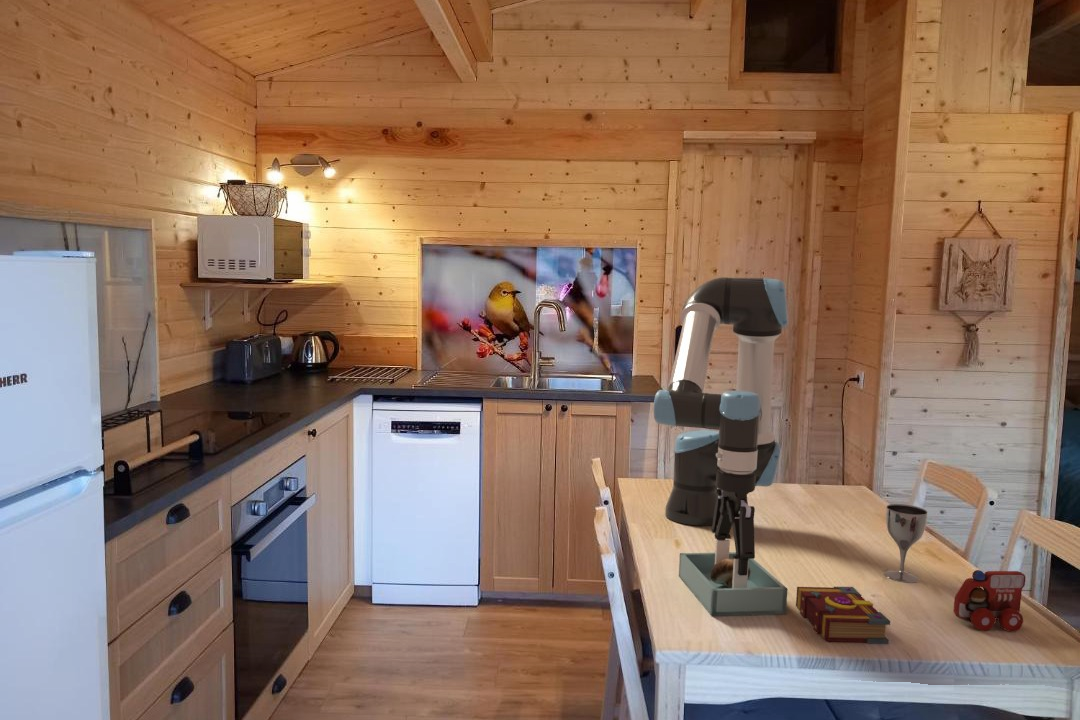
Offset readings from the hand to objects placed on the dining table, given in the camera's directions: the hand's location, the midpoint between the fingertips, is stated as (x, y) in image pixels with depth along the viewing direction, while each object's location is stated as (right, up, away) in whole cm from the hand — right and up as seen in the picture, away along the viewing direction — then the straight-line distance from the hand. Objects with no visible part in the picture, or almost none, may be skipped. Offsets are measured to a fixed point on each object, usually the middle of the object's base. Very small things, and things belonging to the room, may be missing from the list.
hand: (730, 580), depth 150 cm
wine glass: (+41, -3, +13) cm, 43 cm away
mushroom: (0, -2, 0) cm, 2 cm away
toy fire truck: (+46, -6, -10) cm, 47 cm away
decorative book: (+17, -5, -11) cm, 21 cm away
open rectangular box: (0, -3, 0) cm, 3 cm away
